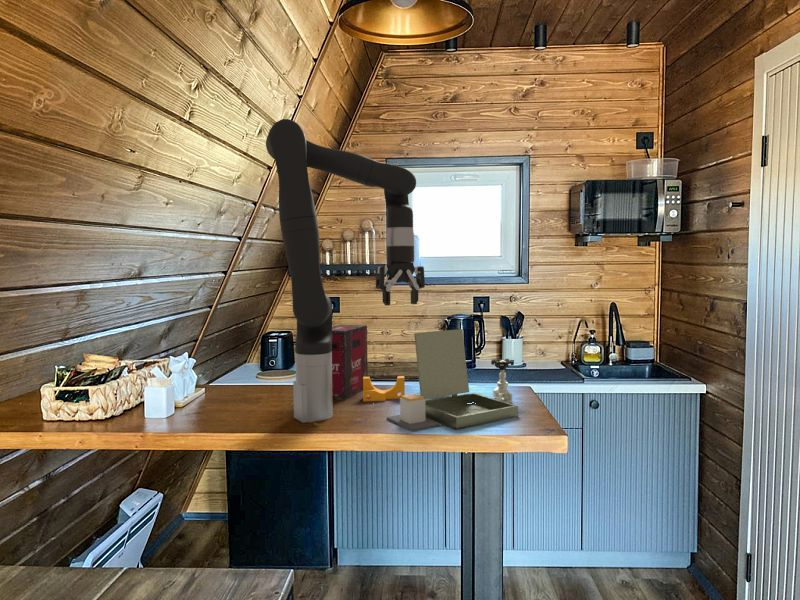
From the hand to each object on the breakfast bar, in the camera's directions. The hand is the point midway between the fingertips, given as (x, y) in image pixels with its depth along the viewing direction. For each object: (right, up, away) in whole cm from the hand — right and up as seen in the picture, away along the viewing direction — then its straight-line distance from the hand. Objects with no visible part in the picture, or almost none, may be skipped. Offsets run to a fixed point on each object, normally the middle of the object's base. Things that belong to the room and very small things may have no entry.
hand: (400, 304), depth 151 cm
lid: (+12, -16, 0) cm, 20 cm away
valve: (+29, -28, +5) cm, 40 cm away
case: (+16, -28, -6) cm, 33 cm away
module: (+3, -28, -14) cm, 32 cm away
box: (-17, -27, +19) cm, 38 cm away
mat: (+3, -29, -14) cm, 32 cm away
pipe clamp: (-5, -28, +10) cm, 30 cm away
